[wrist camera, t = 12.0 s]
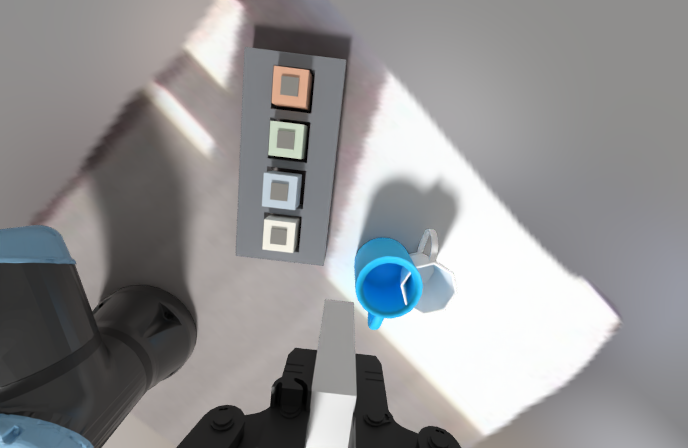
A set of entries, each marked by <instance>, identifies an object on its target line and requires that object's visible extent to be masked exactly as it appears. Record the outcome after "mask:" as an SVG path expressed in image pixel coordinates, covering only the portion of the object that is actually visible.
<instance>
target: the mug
mask: <svg viewBox="0 0 688 448" xmlns="http://www.w3.org/2000/svg"><path fill="white" fill-rule="evenodd" d="M403 266H404V267H405V268H406V269H407V270H409V271H410V272H411V274H410V276H409V277H408V279H407V280H406V289H407V305H405V302H404V298H403V294H402V289H401V270H402V267H403ZM354 268H355V289H356V294H357V298H358V301H359V302H360V304H361V305H362V307H363V308H364V309H365V310H367V311H368V326H369V328H370V329H372V330H376V329H378V328H379V327H380V326H381V324H382V321H383V319H384V318H395V317H399V316H402V315H404V314H406V313H408V312H410V311H411V310H412V309H413V308H414V307H415V306H416V305H417V303H418V301H419V299H420V297H421V295H422V289H423V283H422V279H421V275H420V273H419V271H418V270H417V269H416V267H415V265H414V263H413V261H412V259H411V257H410V255H409V254H408V252H407V250H406V249H405V247H404V246H403V245H402V244H400V243H399V242H398V241H396V240H393V239H391V238H382V237H380V238H376V239H372V240H370V241H368V242H367V243H365V244H364V245H363V246H362V247H361V248H360V249H359V250H358V253H357V255H356V257H355V266H354Z"/></svg>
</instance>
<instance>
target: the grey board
mask: <svg viewBox="0 0 688 448" xmlns="http://www.w3.org/2000/svg"><path fill="white" fill-rule="evenodd" d="M274 66H280V67H288V68H296V69H304V70H309V71H310V73H311V74H313V75H315V79H314V90H313V101H312V112H311V113H303V112H295V111H286V110H278V109H276V105H275V104H273V103H272V87H273V72H274ZM345 73H346V60H345V59H337V58H329V57H321V56H313V55H305V54H297V53H289V52H281V51H273V50H265V49H257V48H249V47H245V51H244V74H243V97H242V120H241V144H240V167H239V190H238V213H237V236H236V256H243V257H251V258H260V259H268V260H277V261H286V262H294V263H303V264H311V265H320V266H323V265H324V261H325V253H326V244H327V235H328V226H329V217H330V208H331V199H332V190H333V181H334V172H335V163H336V154H337V145H338V136H339V127H340V118H341V109H342V100H343V91H344V82H345ZM275 119H279V120H287V121H295V122H303V123H311V124H310V135H309V146H308V157H307V162H306V161H298V160H290V159H281V158H273V156H271V155H268V151H269V135H270V121H275ZM272 167H278V168H286V169H294V170H302V171H306V179H305V190H304V201H303V205H299V206H298V207H297V208H296V210H289V209H281V208H273V207H264V206H262V194H263V178H264V173H265V172H268V171H272ZM269 213H275V214H284V215H292V216H301V217H302V223H301V234H300V245H299V246H298V245H297V247H296V248H295V250H294V252H293V253H289V252H280V251H272V250H263V249H262V246H263V231H264V219H265V218H266V217H268V216H269Z"/></svg>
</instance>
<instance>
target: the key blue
mask: <svg viewBox="0 0 688 448" xmlns="http://www.w3.org/2000/svg"><path fill="white" fill-rule="evenodd" d="M301 182H302V174H296V173H287V172H279V171H268V172H265V173H264V178H263V194H262V206H264V207H273V208H281V209H289V210H296V208H297V207H298V206H299V205H300V193H301Z"/></svg>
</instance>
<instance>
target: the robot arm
mask: <svg viewBox="0 0 688 448" xmlns="http://www.w3.org/2000/svg"><path fill="white" fill-rule="evenodd" d="M75 264H76V261H75V260H74V259H72V258H71V256H70V253H69V251H68V249H67V247H66V244H65V242H64V240H63V238H62V236H61V234H60V233H59V232H58V231H57V230H55V229H53V228H51V227H48V226H44V225H33V226H24V227H16V228H7V229H0V448H101V447H102V446H103V445H104V444H105V442H106V441H107V440H108V439H109V437H110V436H111V435H112V434H113V433H114V431H115V430H116V429H117V427H118V426H119V425H120V424H121V422H122V421H123V420H124V419H125V417H126V416H127V415H128V414H129V412H130V411H131V410H132V409H133V407H134V406H135V405H136V404H137V402H138V401H139V400H140V399H141V398H142V396H143V395H144V394H145V393H146V391H147V390H149V389H151V388H152V387H154V386H155V385H156V384H158V383H159V382H160V381H162V380H164V379H166V378H168V377H170V376H172V375H173V374H175V373H176V372H177V371H178V370H179V369H180V368H181V367H182V366H183V365H184V363H185V362H186V361H187V359H188V358H189V357H190V355H191V354H192V352H193V350H194V347H195V343H196V328H195V324H194V321H193V319H192V316H191V315H190V313H189V311H188V310H187V309H186V307H185V306H184V305H183V304H182V303H181V302H180V301H179V300H178V299H177V298H175V297H174V296H173V295H171V294H169V293H168V292H166V291H164V290H161V289H158V288H155V287H151V286H143V285H137V286H129V287H126V288H123V289H120V290H118V291H116V292H115V293H113V294H112V295H110V296H108V297H107V298H105V299H104V300H103V301H101V302H100V303H99V304H98V305H97V306H96V308H95V309H94V310H93V312H92V310H91V307H90V305H89V302H88V299H87V296H86V294H85V291H84V288H83V285H82V283H81V280H80V277H79V274H78V272H77V269H76V266H75ZM177 448H461V447H460V445H459V443H458V442H457V440H456V439H455V438H454V437H453V436H452V435H451V434H450V433H448V432H447V431H446V430H444V429H441V428H439V427H434V426H428V427H425V428H422V429H421V431H420V432H419V434H418V433H415V432H413V431H410V430H408V429H406V428H404V427H402V426H400V425H399V424H398V423H396V422H395V421H394V419H393V416H392V414H391V413H390V412H389V410H388V405H387V398H386V391H385V385H384V378H383V371H382V365H381V363H380V361H379V360H378V359H377V357H376V356H372V355H363V354H355V328H354V302H345V301H337V300H328V299H325V304H324V310H323V317H322V323H321V330H320V336H319V343H318V349H317V350H311V349H302V348H295V349H294V350H293V351H292V352H291V353H290V354H289V355H288V358H287V361H286V365H285V368H284V372H283V375H282V377H280V378H279V379H278V380H276V381H275V382H274V384H273V385H272V390H271V403H270V407H269V408H267V409H266V410H264V411H262V412H259V413H255V414H250V415H244V413H243V412H242V410H241V409H239V408H238V407H236V406H231V405H224V406H218V407H216V408H214V409H212V410H210V411H209V412H208V413H207V414H205V415H204V416H203V418H202V419H201V420H200V421H199V422H198V423H197V424H196V426H195V427H194V428H193V429H192V430H191V431H190V433H189V434H188V435H187V436H186V437H185V438H184V439H183V441H182V442H181V443H180V444H179V445H178V446H177Z"/></svg>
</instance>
